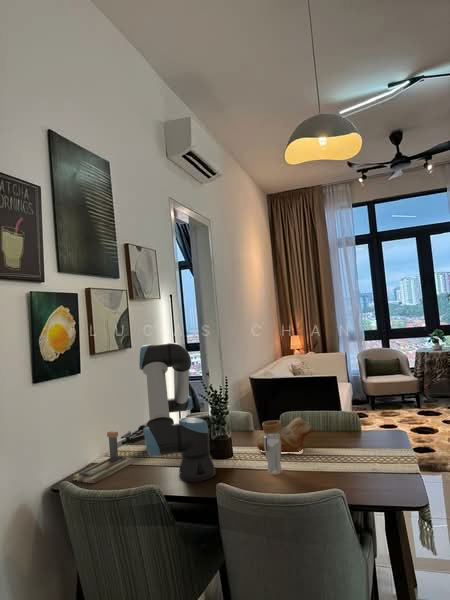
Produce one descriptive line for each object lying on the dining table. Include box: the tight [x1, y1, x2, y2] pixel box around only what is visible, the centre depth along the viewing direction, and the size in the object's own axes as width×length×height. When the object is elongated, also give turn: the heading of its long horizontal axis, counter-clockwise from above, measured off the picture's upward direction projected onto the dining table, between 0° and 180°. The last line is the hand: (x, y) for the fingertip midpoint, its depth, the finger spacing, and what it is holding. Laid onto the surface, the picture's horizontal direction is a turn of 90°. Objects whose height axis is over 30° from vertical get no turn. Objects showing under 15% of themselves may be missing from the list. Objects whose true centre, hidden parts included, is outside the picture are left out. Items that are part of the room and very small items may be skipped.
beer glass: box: [264, 433, 283, 473], centre depth 174 cm, size 7×7×15 cm
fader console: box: [72, 455, 133, 484], centre depth 189 cm, size 12×24×3 cm, turn 152°
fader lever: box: [106, 430, 120, 462], centre depth 196 cm, size 5×2×13 cm, turn 62°
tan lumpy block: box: [256, 416, 312, 452], centre depth 199 cm, size 14×26×15 cm, turn 80°
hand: (116, 445), depth 198 cm, fingers closed
